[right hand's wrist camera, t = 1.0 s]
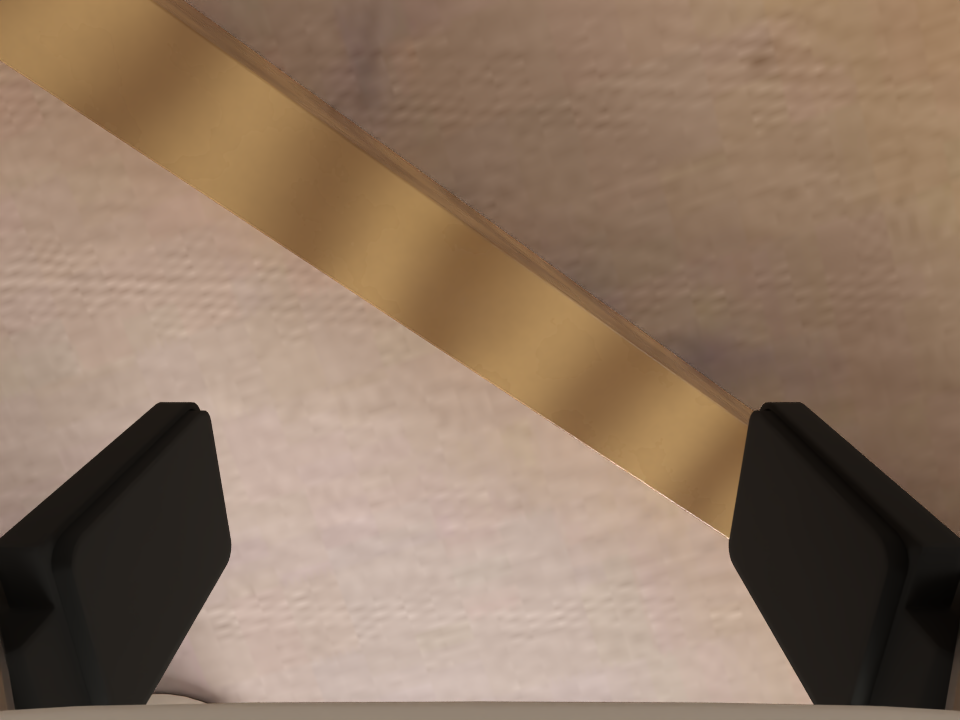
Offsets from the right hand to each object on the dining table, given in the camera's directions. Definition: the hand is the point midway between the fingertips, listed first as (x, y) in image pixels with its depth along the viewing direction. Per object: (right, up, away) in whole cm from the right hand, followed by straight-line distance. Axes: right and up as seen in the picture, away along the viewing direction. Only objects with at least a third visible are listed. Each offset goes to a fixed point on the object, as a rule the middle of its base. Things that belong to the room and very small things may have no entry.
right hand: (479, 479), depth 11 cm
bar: (+6, +3, +24) cm, 25 cm away
